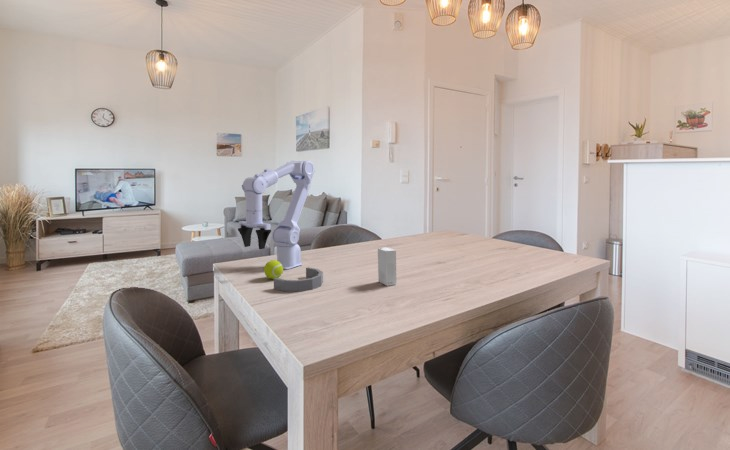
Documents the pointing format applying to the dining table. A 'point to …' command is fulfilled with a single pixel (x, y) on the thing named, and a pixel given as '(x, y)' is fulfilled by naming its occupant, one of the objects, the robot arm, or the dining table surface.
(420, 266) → the dining table surface
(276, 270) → the tennis ball
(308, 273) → the catch ring
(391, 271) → the skincare box
